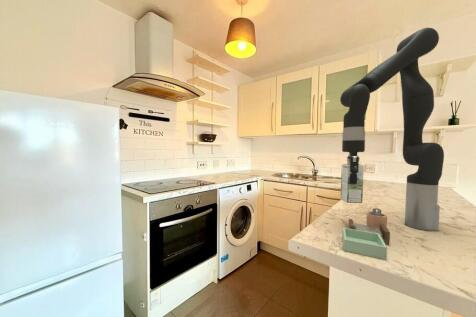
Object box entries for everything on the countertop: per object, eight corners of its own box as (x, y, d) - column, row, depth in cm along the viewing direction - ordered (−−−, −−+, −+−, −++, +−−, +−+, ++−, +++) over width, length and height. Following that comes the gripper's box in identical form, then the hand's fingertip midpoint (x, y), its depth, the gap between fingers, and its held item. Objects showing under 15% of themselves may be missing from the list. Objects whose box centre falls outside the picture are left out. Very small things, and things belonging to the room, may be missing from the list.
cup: (383, 228, 76) (384, 213, 76) (387, 234, 70) (388, 217, 70) (365, 225, 78) (366, 210, 78) (367, 231, 73) (368, 215, 73)
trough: (378, 244, 63) (379, 233, 63) (386, 259, 54) (387, 247, 54) (342, 237, 67) (342, 227, 67) (343, 250, 58) (344, 239, 58)
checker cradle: (383, 235, 69) (384, 223, 69) (389, 245, 62) (389, 232, 62) (348, 229, 74) (348, 218, 74) (349, 238, 67) (350, 226, 67)
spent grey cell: (379, 227, 75) (380, 207, 75) (381, 229, 73) (382, 209, 72) (371, 225, 76) (371, 206, 76) (372, 228, 74) (373, 208, 73)
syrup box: (355, 199, 80) (356, 163, 79) (363, 203, 74) (364, 164, 73) (340, 199, 80) (341, 163, 80) (346, 203, 74) (347, 164, 74)
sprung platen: (377, 229, 70) (377, 226, 70) (381, 237, 63) (382, 234, 63) (354, 225, 73) (354, 223, 73) (356, 232, 66) (356, 229, 66)
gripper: (367, 138, 68) (366, 186, 68) (362, 140, 81) (361, 180, 81) (343, 139, 71) (342, 184, 72) (341, 140, 84) (340, 179, 85)
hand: (352, 182), depth 77 cm, fingers closed on syrup box, 7 cm apart
